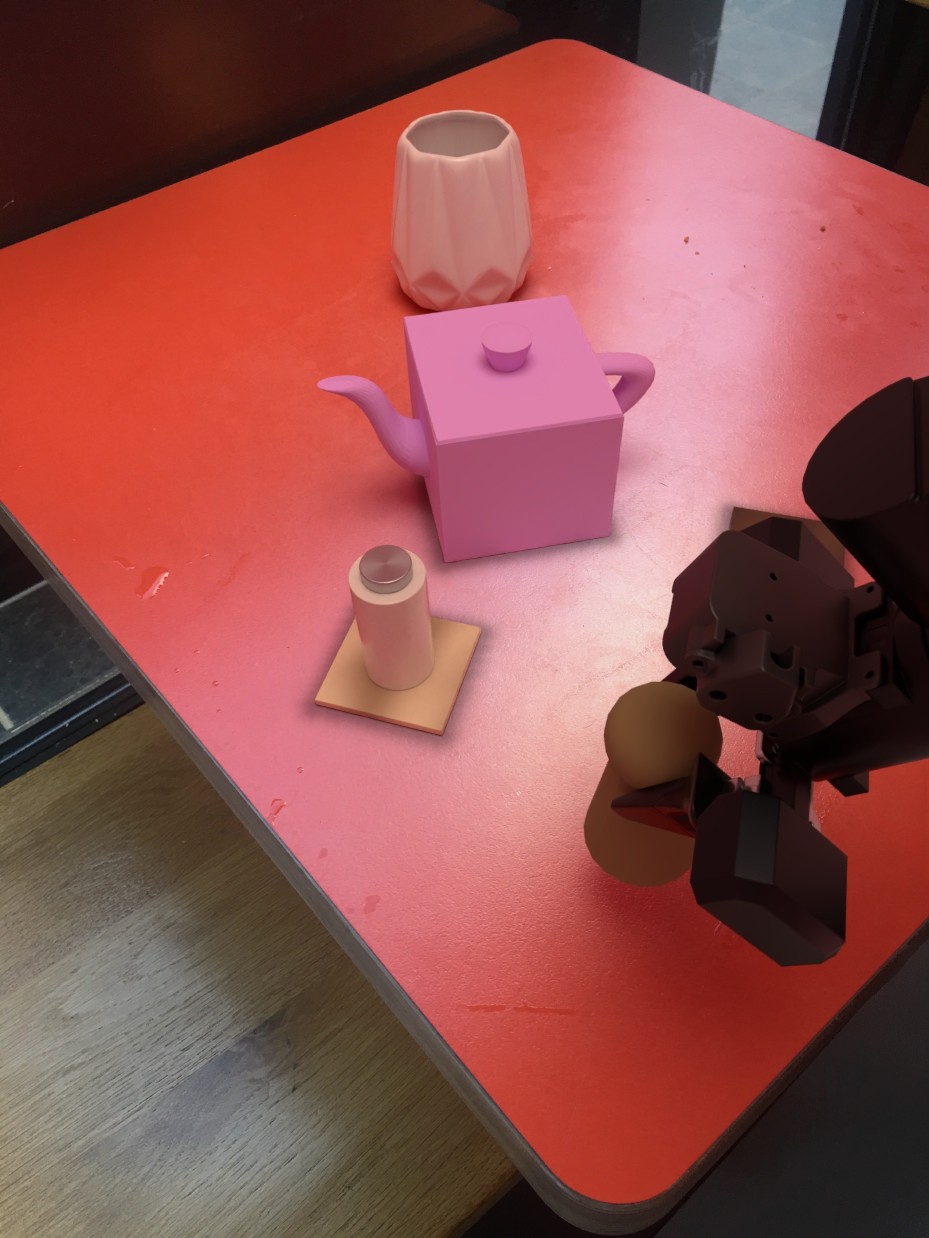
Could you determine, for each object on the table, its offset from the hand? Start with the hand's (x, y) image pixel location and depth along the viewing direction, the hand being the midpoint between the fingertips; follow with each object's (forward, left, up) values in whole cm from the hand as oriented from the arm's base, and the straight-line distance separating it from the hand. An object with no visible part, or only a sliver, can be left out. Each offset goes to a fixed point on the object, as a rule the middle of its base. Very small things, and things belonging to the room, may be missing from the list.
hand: (626, 760), depth 44 cm
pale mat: (+19, -6, -13) cm, 24 cm away
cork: (-1, 0, -7) cm, 7 cm away
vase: (+41, -49, -13) cm, 66 cm away
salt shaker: (+19, -6, -13) cm, 24 cm away
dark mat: (0, -29, -13) cm, 32 cm away
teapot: (+23, -25, -13) cm, 37 cm away
